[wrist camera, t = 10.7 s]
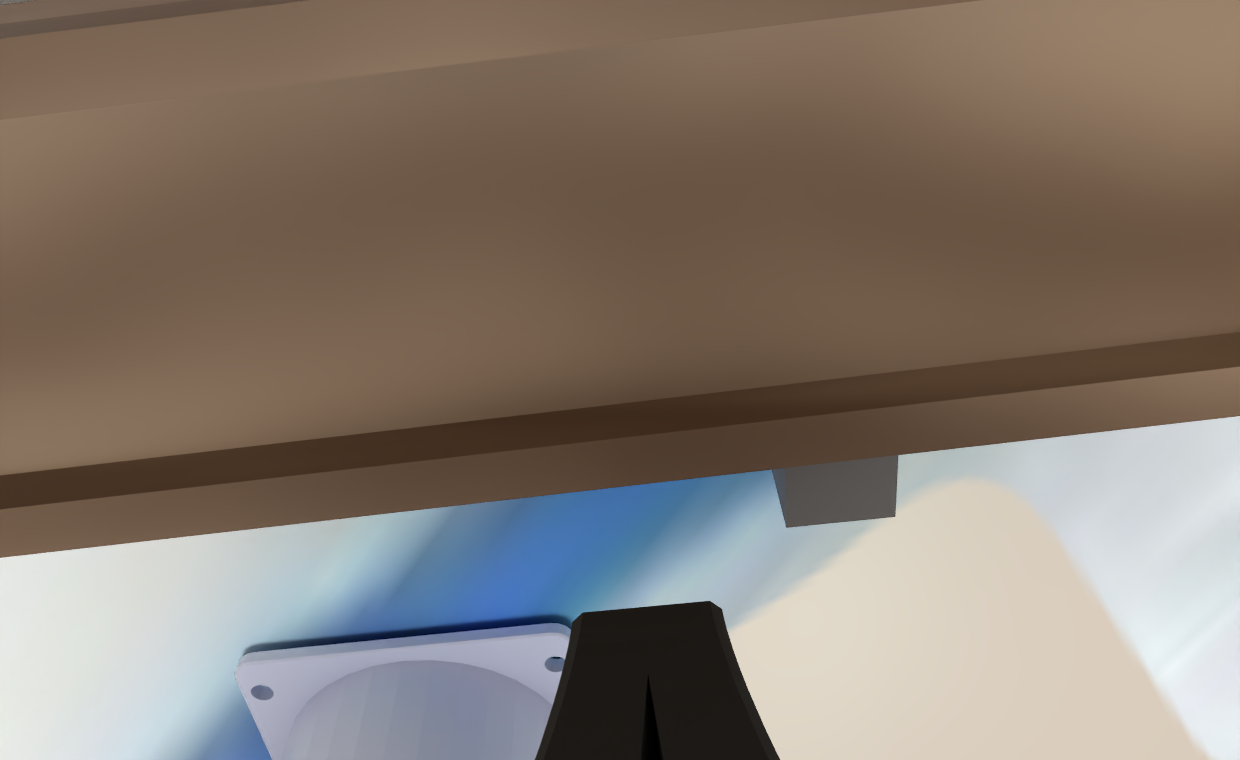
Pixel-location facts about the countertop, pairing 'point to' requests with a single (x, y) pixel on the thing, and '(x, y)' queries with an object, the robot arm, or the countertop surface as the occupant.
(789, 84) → the beam
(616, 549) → the countertop surface
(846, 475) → the stand
